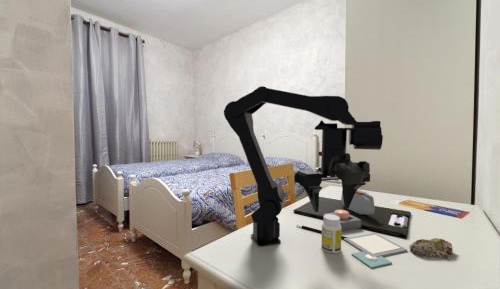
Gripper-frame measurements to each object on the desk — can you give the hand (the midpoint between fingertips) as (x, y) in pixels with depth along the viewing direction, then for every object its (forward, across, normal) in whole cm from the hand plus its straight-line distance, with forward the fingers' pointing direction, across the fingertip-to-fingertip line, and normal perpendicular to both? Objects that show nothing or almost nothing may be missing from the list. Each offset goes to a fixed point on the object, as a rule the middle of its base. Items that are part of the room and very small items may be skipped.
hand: (331, 209), depth 61 cm
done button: (+8, +13, +12) cm, 20 cm away
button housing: (+10, +13, +12) cm, 20 cm away
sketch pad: (+10, +12, -2) cm, 16 cm away
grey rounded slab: (+10, +26, +20) cm, 34 cm away
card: (+10, +6, -7) cm, 14 cm away
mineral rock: (+11, +23, -9) cm, 27 cm away
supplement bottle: (+10, 0, 0) cm, 10 cm away
